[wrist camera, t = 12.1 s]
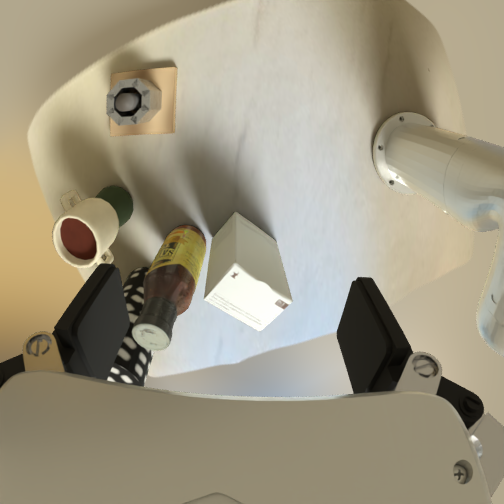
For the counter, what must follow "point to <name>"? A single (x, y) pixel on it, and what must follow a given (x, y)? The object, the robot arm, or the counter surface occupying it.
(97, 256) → the character mug
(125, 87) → the tube
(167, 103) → the shaft stand
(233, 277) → the skincare box
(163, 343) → the sauce bottle
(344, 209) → the counter surface
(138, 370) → the white-spotted black cylinder
